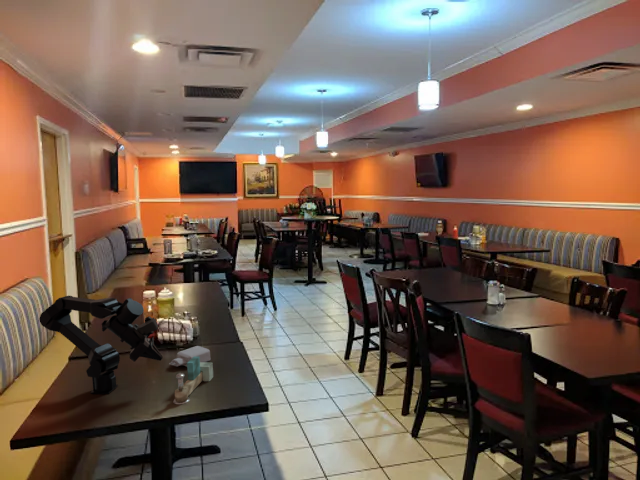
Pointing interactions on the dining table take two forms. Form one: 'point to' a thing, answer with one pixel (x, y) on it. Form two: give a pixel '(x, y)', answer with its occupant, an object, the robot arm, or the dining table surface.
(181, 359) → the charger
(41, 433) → the dining table surface
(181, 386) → the pintle
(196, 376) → the link
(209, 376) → the block
